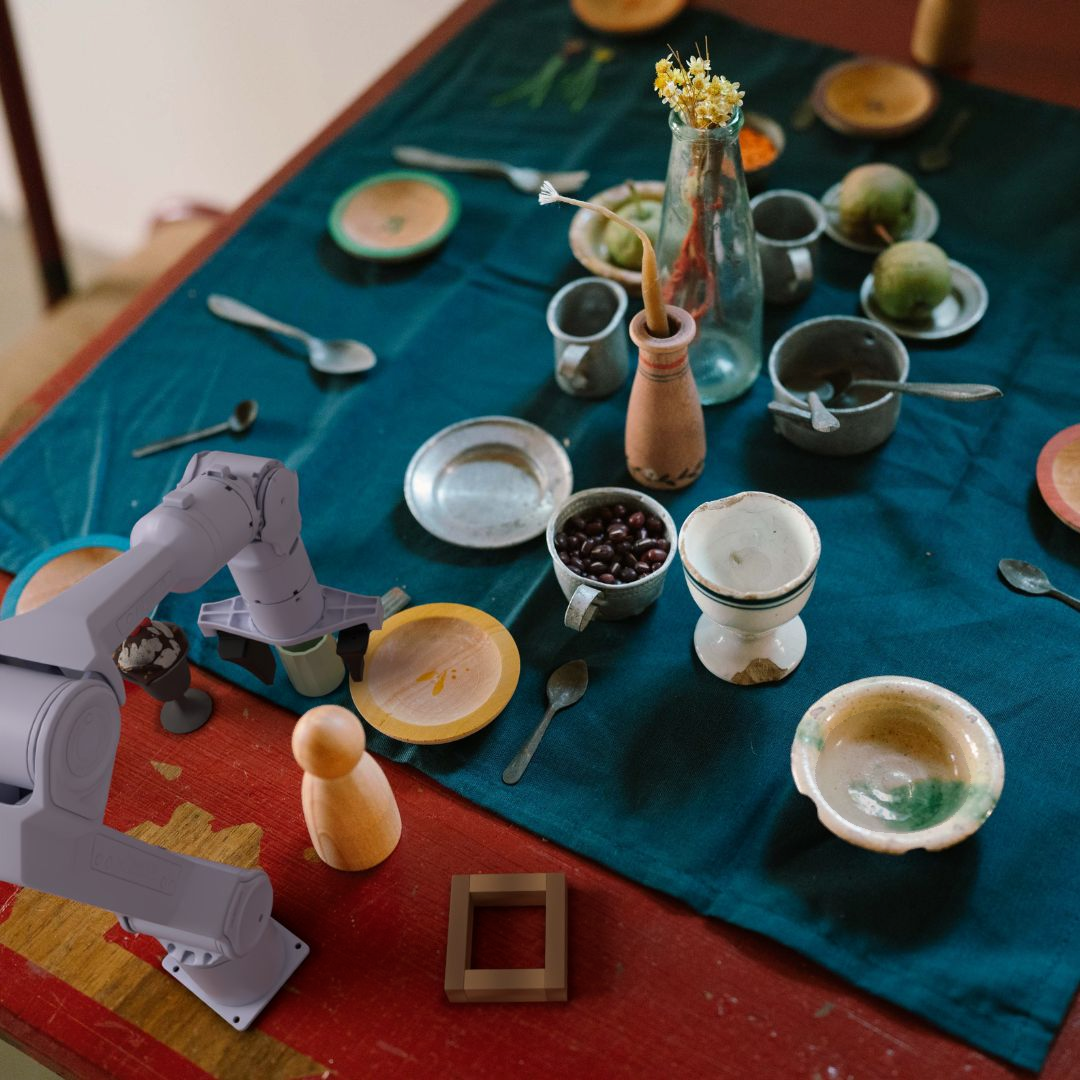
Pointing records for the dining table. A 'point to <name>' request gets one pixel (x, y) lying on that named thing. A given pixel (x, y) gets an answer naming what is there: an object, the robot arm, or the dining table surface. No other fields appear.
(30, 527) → the dining table surface
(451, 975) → the brown square frame
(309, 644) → the cup
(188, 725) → the sundae
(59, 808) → the robot arm
